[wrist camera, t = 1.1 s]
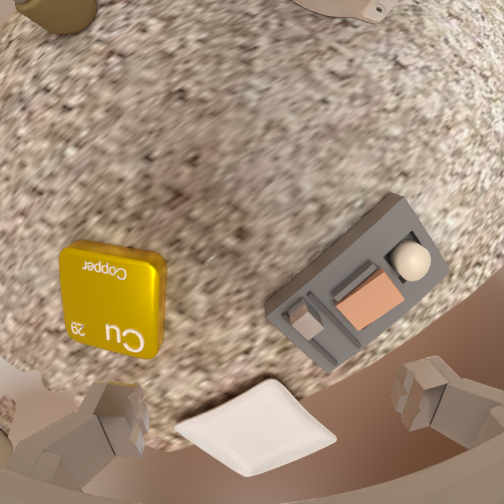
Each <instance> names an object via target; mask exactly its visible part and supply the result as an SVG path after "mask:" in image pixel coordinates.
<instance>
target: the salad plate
mask: <svg viewBox="0 0 504 504" xmlns="http://www.w3.org/2000/svg"><path fill="white" fill-rule="evenodd" d="M174 429H175V430H176V431H177V432H178V433H180V434H181V435H182V436H184V437H185V438H186V439H188V440H189V441H191V442H192V443H194V444H195V445H196V446H198V447H199V448H201V449H202V450H204V451H205V452H207V453H208V454H210V455H211V456H213V457H214V458H216V459H217V460H219V461H220V462H222V463H223V464H225V465H226V466H228V467H229V468H231V469H232V470H234V471H236V472H237V473H239V474H241V475H242V476H245V477H250V476H254V475H257V474H260V473H263V472H266V471H269V470H271V469H274V468H277V467H279V466H282V465H285V464H287V463H290V462H292V461H295V460H297V459H299V458H302V457H304V456H306V455H309V454H311V453H313V452H316V451H318V450H320V449H322V448H324V447H326V446H329V445H331V444H332V443H334V442H336V440H337V438H336V436H335V435H334V434H333V433H332V432H331V431H330V430H328V429H327V428H326V427H325V426H324V425H322V424H321V423H320V422H319V421H318V420H317V419H316V418H314V417H313V416H312V415H311V414H310V413H309V412H308V411H307V410H306V409H305V408H304V407H303V406H302V405H301V404H300V403H299V402H298V401H297V400H296V399H295V397H294V396H293V395H292V394H291V393H290V392H289V391H288V389H287V388H286V387H285V386H284V385H283V384H281V383H280V382H279V381H278V380H276V379H274V378H269V379H266V380H264V381H262V382H260V383H259V384H257V385H255V386H254V387H252V388H251V389H249V390H247V391H246V392H244V393H242V394H240V395H238V396H237V397H235V398H233V399H231V400H229V401H227V402H225V403H223V404H221V405H219V406H217V407H215V408H213V409H210V410H208V411H206V412H204V413H201V414H199V415H196V416H193V417H191V418H188V419H185V420H183V421H181V422H179V423H177V424H176V425H174Z"/></svg>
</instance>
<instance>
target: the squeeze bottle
mask: <svg viewBox="0 0 504 504" xmlns="http://www.w3.org/2000/svg"><path fill="white" fill-rule="evenodd" d="M13 1H15V6H16V9H17V10H18V11H19V12H20V13H22V14H23V15H25V16H26V17H28V18H29V19H31V20H32V21H34V22H35V23H37V24H38V25H40V26H41V27H43V28H44V29H46V30H47V31H49V32H50V33H53V34H69V33H76V32H79V31H81V30H83V29H84V28H86V27H87V26H88V25H89V24H90V23H91V22H92V21H93V19H94V17H95V15H96V11H97V5H96V2H95V0H13Z"/></svg>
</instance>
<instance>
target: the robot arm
mask: <svg viewBox="0 0 504 504" xmlns="http://www.w3.org/2000/svg"><path fill="white" fill-rule="evenodd" d="M293 1H294V2H296V3H297V4H299V5H300V6H302V7H304V8H306V9H308V10H311V11H313V12H316V13H319V14H323V15H327V16H333V17H354V18H358V19H361V20H364V21H366V22H369V23H373V24H378V23H380V22H381V21H382V20H383V19H384V18H385V17H386V15H387V14H388V13H389V12H390V11H391V9H392V8H393V7H394V6H395V5H396V3H397V2H398V1H399V0H293ZM376 9H379V10H380V12H378V11H377V10H376ZM395 376H396V377H397V380H396V381H395V382H394V384H393V385H392V388H391V392H390V393H391V394H390V395H391V402H392V405H393V407H394V409H395V410H396V411H398V412H400V413H402V417H401V420H402V421H403V423H404V424H405V426H406V427H407V429H408V431H413V430H417V429H420V428H424V427H427V426H430V427H432V428H433V429H435V430H437V431H438V432H440V433H442V434H444V435H445V436H447V437H449V438H450V439H452V440H454V441H456V442H457V443H459V444H461V445H463V446H464V447H466V448H468V449H469V450H468V451H466V452H464V453H462V454H460V455H458V456H455V457H453V458H451V459H449V460H446V461H444V462H441V463H439V464H436V465H434V466H431V467H429V468H426V469H424V470H421V471H418V472H415V473H413V474H410V475H407V476H404V477H401V478H398V479H395V480H392V481H388V482H385V483H382V484H378V485H375V486H371V487H367V488H363V489H360V490H355V491H351V492H347V493H342V494H338V495H333V496H328V497H322V498H316V499H310V500H304V501H297V502H290V503H281V504H504V391H502V390H499V389H496V388H493V387H490V386H487V385H484V384H481V383H478V382H474V381H472V380H469V379H466V378H464V379H461V378H460V377H459V376H458V375H457V374H456V373H455V372H454V371H453V370H452V369H451V368H450V367H449V366H448V365H447V364H446V363H445V362H444V361H443V360H442V359H441V358H440V357H439V356H431V357H428V358H424V359H421V360H417V361H413V362H408V363H404V364H399V365H398V367H397V369H396V373H395ZM143 396H144V394H143V391H142V388H141V386H140V385H138V384H125V383H114V382H110V383H109V382H101V381H95V382H93V383H92V385H91V387H90V389H89V391H88V392H87V394H86V396H85V398H84V400H83V402H82V404H81V405H80V407H79V409H78V411H77V412H72V413H70V414H69V415H67V416H65V417H63V418H61V419H60V420H58V421H56V422H54V423H53V424H51V425H49V426H47V427H45V428H44V429H42V430H40V431H38V432H37V433H35V434H33V435H31V436H29V437H27V438H26V439H24V440H22V441H20V442H19V443H18V445H17V446H16V448H15V450H14V451H13V453H12V455H11V457H10V458H9V460H8V462H7V464H6V465H5V467H4V468H3V467H1V466H0V504H147V503H138V502H130V501H124V500H117V499H111V498H106V497H101V496H96V495H91V494H87V493H84V492H83V491H82V488H83V487H84V486H85V485H86V484H87V483H88V482H90V481H91V480H92V479H93V478H94V477H95V476H96V475H97V474H98V473H99V472H100V471H101V470H102V469H103V468H104V467H106V466H107V465H108V464H109V463H110V462H111V461H112V460H113V459H114V458H115V456H120V457H131V458H141V457H142V453H143V449H144V445H145V442H144V439H143V436H144V435H145V434H147V433H148V428H149V413H148V408H147V405H146V404H145V403H144V402H142V399H143Z"/></svg>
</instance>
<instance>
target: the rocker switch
mask: <svg viewBox="0 0 504 504" xmlns="http://www.w3.org/2000/svg"><path fill="white" fill-rule="evenodd" d="M404 300H405V299H404V297H403V295H402V293H401V292H400V291H399V289H398V288H397V287H396V285H395V284H394V283H393V281H392V280H391V279H390V277H389V276H388V275H387V273H386V272H385V271H384V269H383V268H382V267H381V268H380V269H379V270H377V271H376V272H375V273H373V274H372V275H370V276H369V277H368V278H366V279H365V280H364V281H362V282H361V283H360V284H358V285H357V286H356V287H355V288H354V289H353V290H351V291H350V292H349V293H348V294H347V295H345V296H344V297H343V298H342V299H341V300H339V301H338V302H337V300H335V306H336V307H337V308H338V310H339V311H340V312H341V313H342V314H343V315H344V316H345V317H346V318H347V319H348V320H349V321H350V322H351V324H352V325H353V326H354V327H355V328H356V329H357V330H358V331H359V330H361V329H363V328H364V327H366V326H367V325H369V324H370V323H372V322H373V321H375V320H376V319H378V318H379V317H381V316H382V315H384V314H385V313H387V312H388V311H390V310H391V309H392V308H394V307H395V306H397V305H398V304H400V303H401V302H403V301H404Z"/></svg>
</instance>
